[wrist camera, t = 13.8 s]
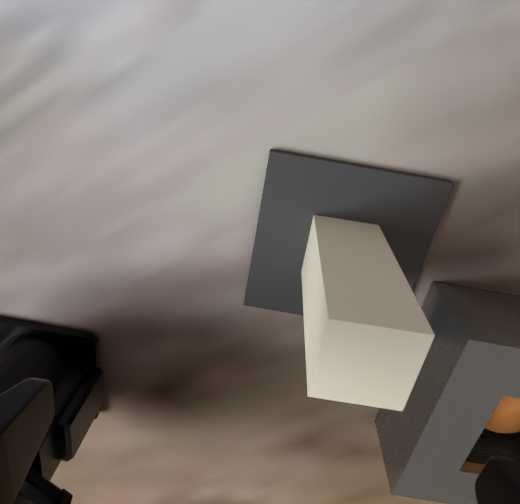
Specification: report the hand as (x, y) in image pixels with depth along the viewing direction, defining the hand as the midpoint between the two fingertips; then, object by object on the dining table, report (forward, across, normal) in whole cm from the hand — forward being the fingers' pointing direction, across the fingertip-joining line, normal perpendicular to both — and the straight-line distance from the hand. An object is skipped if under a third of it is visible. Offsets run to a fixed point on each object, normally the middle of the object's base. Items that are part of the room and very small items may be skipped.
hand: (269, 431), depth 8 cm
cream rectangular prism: (+12, -3, +1) cm, 12 cm away
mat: (+12, -3, +1) cm, 12 cm away
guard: (+12, -13, +7) cm, 19 cm away
